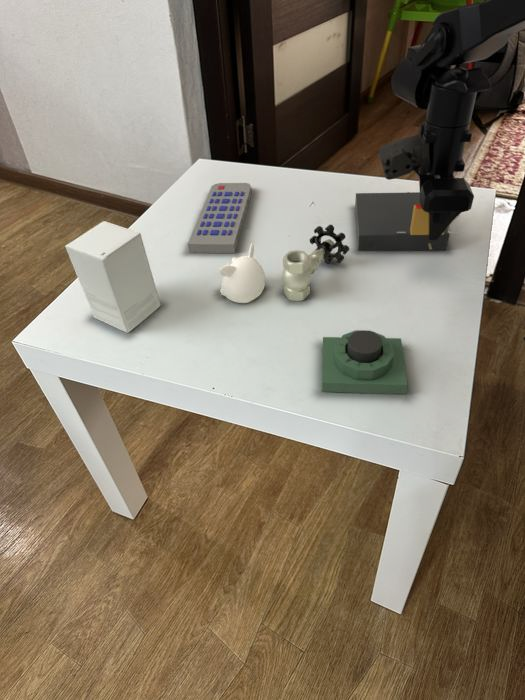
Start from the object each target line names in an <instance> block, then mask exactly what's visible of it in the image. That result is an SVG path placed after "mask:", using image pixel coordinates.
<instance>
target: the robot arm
mask: <svg viewBox="0 0 525 700" xmlns="http://www.w3.org/2000/svg"><path fill="white" fill-rule="evenodd" d="M524 29H525V0H483V1H480V2H475V3H472V4H467V5H463V6H458V7H456V8H452V9H448V10H446V11H443V12H440V13H439V14H438V15H437V16H436V17H435V18H434V20H433V22H432V27H431V29H430V31H428V33H427V35H426V37H425V39H423V42H422V44H417V45H413V46H409V47H407V52H406V56H405V57H404V58H402V60H401V61H400V62H399V63H398V64H397V65H396V67H395V70H394V71H393V74H392V75H391V79H390V81H391V83H390V84H391V89H392V92H393V93H394V95H395V96H396V97H398V98H400V99H402V100H403V101H406V102H408V103H409V104H411V105H413V106H415V107H416V108H418V109H421V110H426V116H425V120H424V121H422V122H421V124H419V126H418V127H419V128H418V133H417V134H414V135H410V136H406V137H403V138H400V139H397V140H394V141H392V142H388V143H386V144H384V145H382V146H380V148H379V149H378V154H379V159H380V164H381V166H382V170H383V174H384V177H385V179H386V180H389V181H390V180H391V181H392V180H394V179H397V178H400V177H403V176H406V175H408V174H411V173H412V172H414V173H416V175H417V177H418V185H419V192H420V203H421V207H422V209H423V210H424V211H425V212H428V213H429V240H430V241H435V240H437V239H438V238H439V237H440V236H441V234H442V233H443V232H444V231H445V230H446V228H449V226H450V225H451V224H452V223H453V222H454V220H456V219H457V218H458V217H459V216H460V214H462V213H464V212H468V211H470V210H471V209H472V207H473V203H474V198H475V194H474V193H473V190H472V188H471V186H470V184H469V182H468V181H467V180H466V178H465V177H455V175H454V173H456V172H457V173H461V172H462V173H463V172H465V166H466V163H465V161H464V159H463V157H464V153H465V148H466V144H467V143H471V140H472V136H473V133H472V131H471V129H470V126H471V121H472V117H473V113H474V112H473V111H474V107H475V103H476V99H477V94H478V93H481V92H484V91H489V90H490V89H491V88H492V83H491V81H490V78H489V77H487V76H486V74H485V73H484V69H483V67H482V66H478V67H474V68H469V69H467V68H465V67H461V66H460V67H458V66H457V65H463V64H468V63H473V62H478V61H483V60H486V59H488V58H489V57H491V56H493V55H494V54H495V53H497V52H498V51H499V50H501V49H502V48H503V47H505V46H506V45H507V43H508V42H509V40H510V38H511V37H513V36H514V35H516V34H517V33H519V32H520V31H522V30H524ZM452 66H457V67H452Z"/></svg>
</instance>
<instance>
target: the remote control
mask: <svg viewBox="0 0 525 700" xmlns="http://www.w3.org/2000/svg"><path fill="white" fill-rule="evenodd" d="M251 198H252V185H251V184H250V183H248V182H219V183H214V184H212V185H211V186H210V189H209V191H208V193H207V196H206V198H205V201H204V203H203V206H202V209H201V210H200V213H199V215H198V217H197V221H196V223H195V226H194V228H193V231H192V232H191V235H190V238H189V240H188V241H187V247H188V252H189V254H235V253H236V251H237V247H238V243H239V241H240V237H241V233H242V231H243V226H244V223H245V219H246V216H247V213H248V209H249V205H250V202H251Z"/></svg>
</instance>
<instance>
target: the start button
mask: <svg viewBox="0 0 525 700" xmlns="http://www.w3.org/2000/svg"><path fill="white" fill-rule="evenodd" d="M371 331H372V330H367V329H366V330H365V329H364V330H363V329H362V331H357V332H354V333H353V334H351V335H350V337H349V339H348V349H347V352H348V355H349V356H350V358H351V359H353V360H355V361H357V362H359V363H371V362H374V361H376V360H377V359H378V358H379V357H380V354H381V347H382V340H381V338H380V337H379V336H378V335H377V334H376V333H377V332H375V331H373V332H371ZM374 332H375V333H374Z"/></svg>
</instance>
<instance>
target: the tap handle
mask: <svg viewBox="0 0 525 700" xmlns="http://www.w3.org/2000/svg"><path fill="white" fill-rule="evenodd" d="M410 234H411V235H429V213H428V212H425V211H424V210H423V209H422V207H421V204H415V205H414V208H413V214H412V220H411V226H410ZM443 234H444V232H443V233H442V234H441V235H443Z"/></svg>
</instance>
